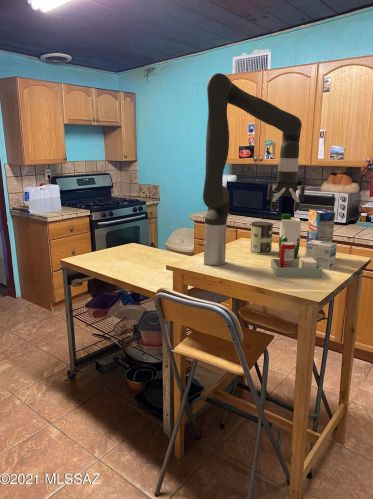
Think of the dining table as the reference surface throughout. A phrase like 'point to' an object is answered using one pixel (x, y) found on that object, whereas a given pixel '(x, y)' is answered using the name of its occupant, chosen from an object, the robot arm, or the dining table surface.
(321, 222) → the beverage box
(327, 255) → the light bulb box
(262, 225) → the coffee can
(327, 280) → the dining table surface
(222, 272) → the dining table surface
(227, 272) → the dining table surface
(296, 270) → the tote
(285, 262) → the soda can
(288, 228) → the milk carton
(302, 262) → the cream white block
